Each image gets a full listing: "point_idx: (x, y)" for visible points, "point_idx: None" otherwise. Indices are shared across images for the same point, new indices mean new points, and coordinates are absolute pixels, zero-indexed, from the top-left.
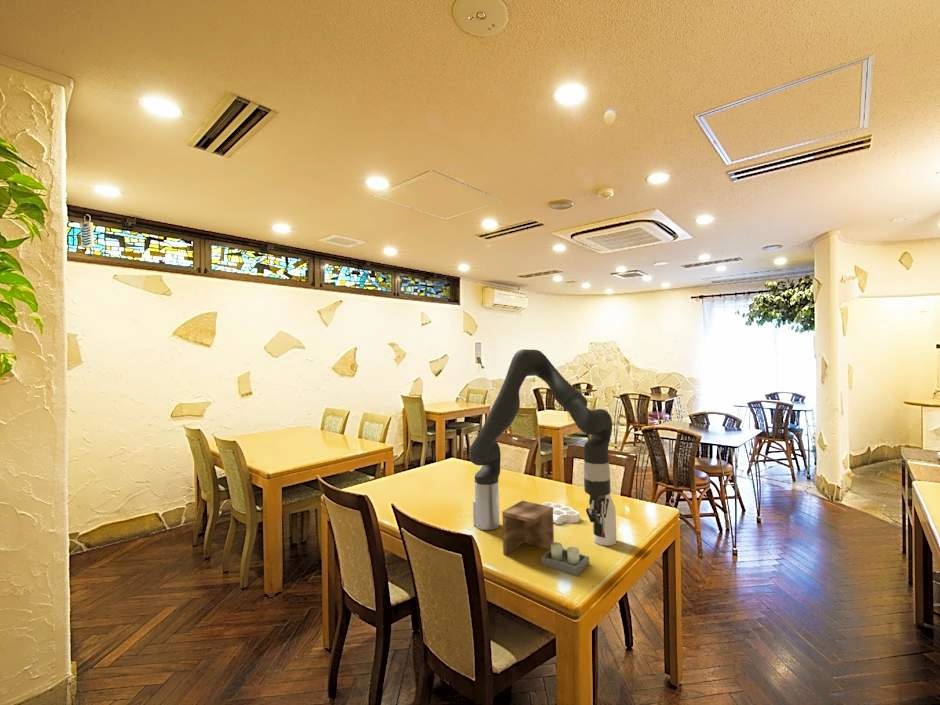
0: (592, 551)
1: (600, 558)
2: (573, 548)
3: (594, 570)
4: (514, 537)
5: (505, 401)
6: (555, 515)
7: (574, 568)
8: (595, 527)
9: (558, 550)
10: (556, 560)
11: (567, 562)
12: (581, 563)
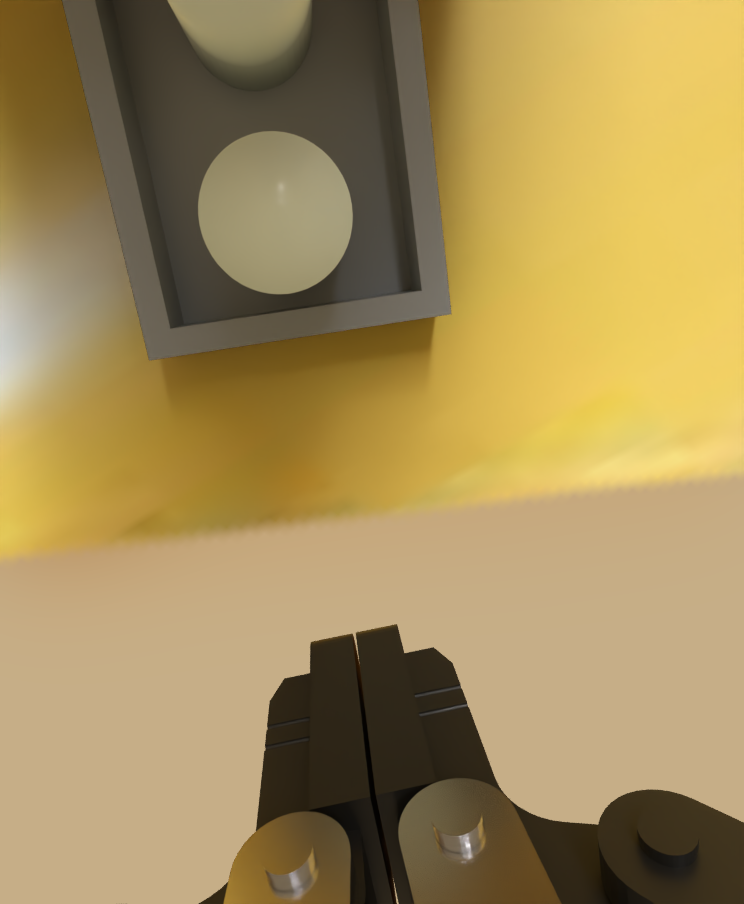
0: (692, 187)
1: (605, 323)
2: (306, 197)
3: (372, 402)
4: None
5: None
6: None
7: (147, 335)
8: (264, 794)
9: (192, 23)
10: (112, 91)
11: None
12: (268, 340)
